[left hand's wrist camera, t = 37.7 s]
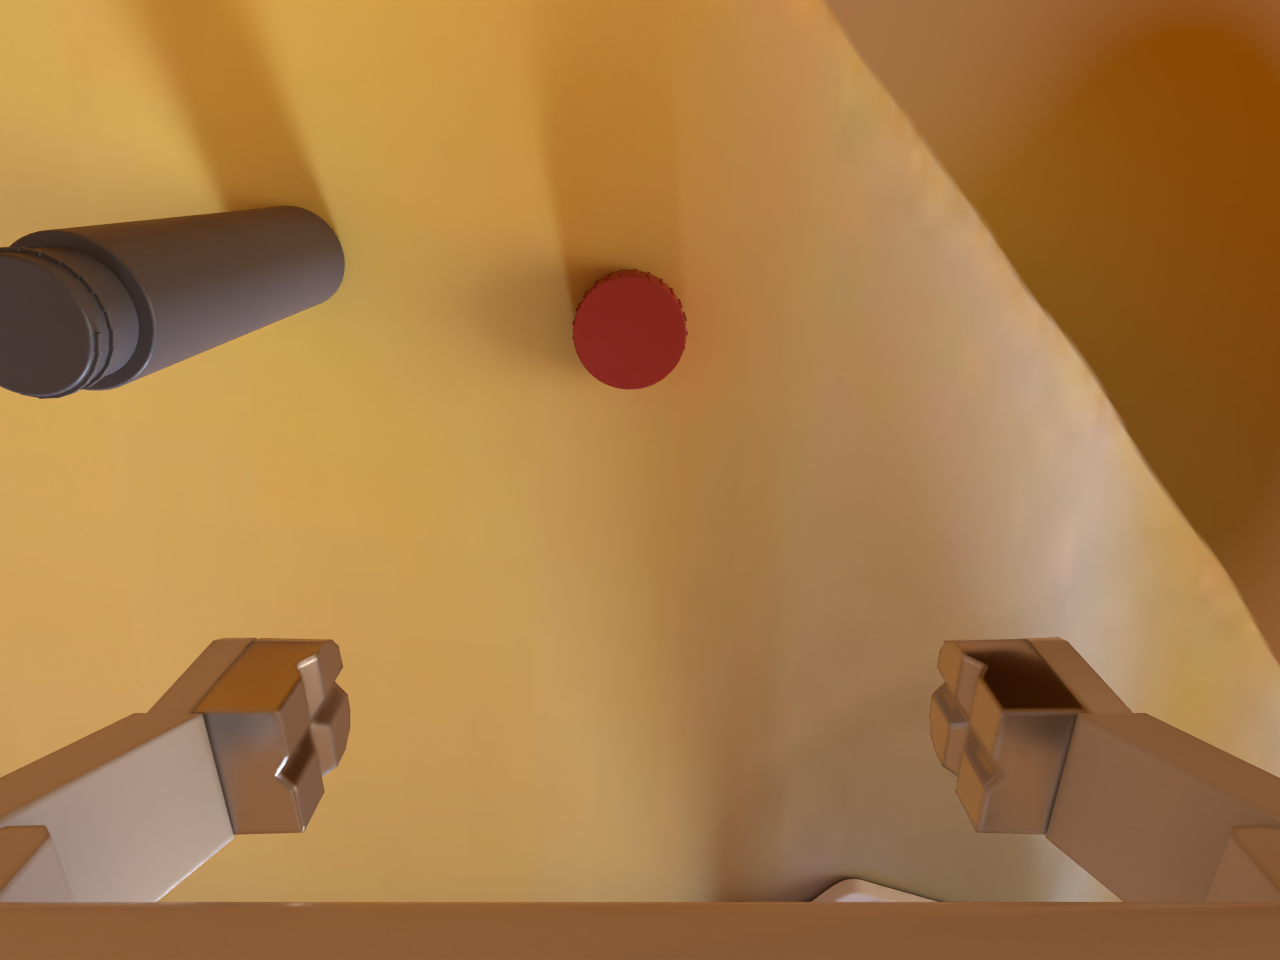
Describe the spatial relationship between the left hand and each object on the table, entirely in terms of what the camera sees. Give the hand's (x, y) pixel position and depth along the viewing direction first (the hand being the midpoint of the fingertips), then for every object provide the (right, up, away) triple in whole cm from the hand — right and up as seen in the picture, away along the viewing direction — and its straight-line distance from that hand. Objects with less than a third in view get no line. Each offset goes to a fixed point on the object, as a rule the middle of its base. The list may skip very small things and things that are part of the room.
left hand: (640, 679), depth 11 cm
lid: (0, +9, +24) cm, 26 cm away
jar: (-16, +13, +25) cm, 32 cm away
